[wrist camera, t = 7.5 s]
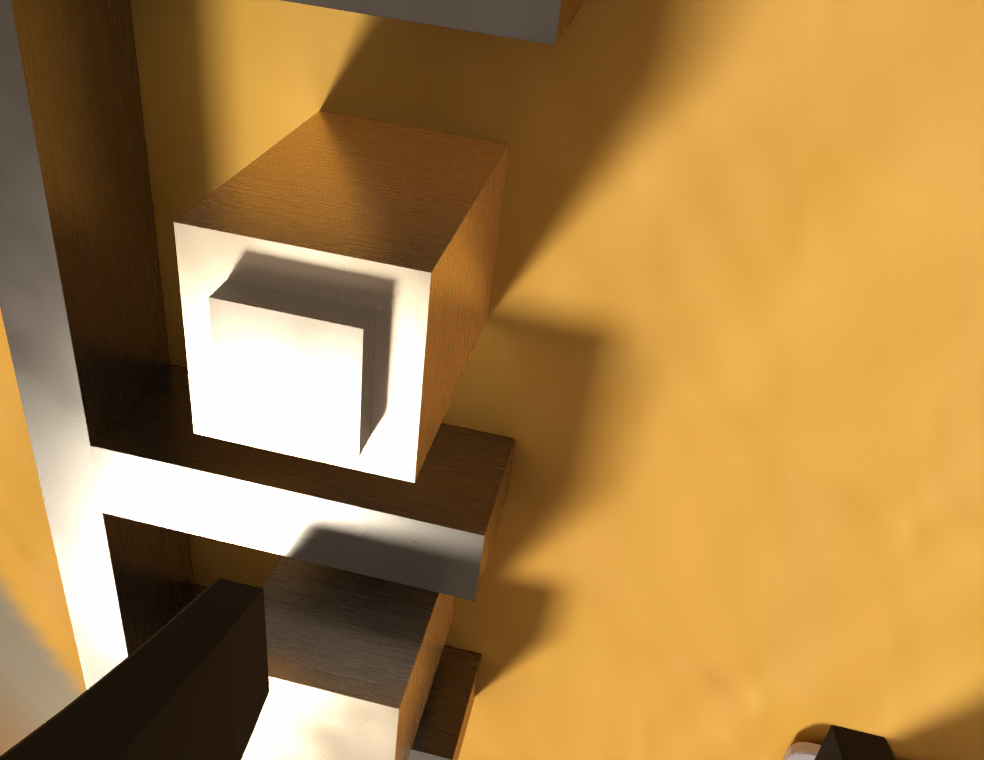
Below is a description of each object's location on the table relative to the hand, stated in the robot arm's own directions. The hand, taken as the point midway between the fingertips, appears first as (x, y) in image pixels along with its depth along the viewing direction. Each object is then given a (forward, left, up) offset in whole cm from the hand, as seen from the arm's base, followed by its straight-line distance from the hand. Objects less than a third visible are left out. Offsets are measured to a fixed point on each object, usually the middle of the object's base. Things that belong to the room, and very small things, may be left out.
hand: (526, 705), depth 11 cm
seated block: (-8, +5, -10) cm, 14 cm away
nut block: (+2, +5, -10) cm, 11 cm away
